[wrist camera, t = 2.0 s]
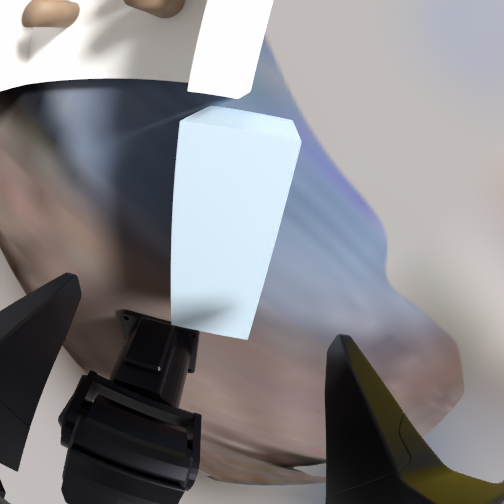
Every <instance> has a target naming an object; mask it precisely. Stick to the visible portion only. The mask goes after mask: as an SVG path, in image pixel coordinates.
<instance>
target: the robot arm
mask: <svg viewBox="0 0 504 504" xmlns="http://www.w3.org/2000/svg"><path fill="white" fill-rule="evenodd" d="M80 299H81V289H80V284H79V280H78V277H77V276H76V275H74V274H71V273H65V274H63V275H61V276H59V277H57V278H56V279H54V280H52V281H50V282H49V283H47V284H45V285H43V286H42V287H40V288H38V289H36V290H35V291H33V292H31V293H29V294H28V295H26V296H24V297H23V298H21V299H19V300H18V301H16V302H14V303H13V304H11V305H9V306H8V307H6V308H5V309H3V310H1V311H0V463H1V464H3V465H5V466H7V467H9V468H11V469H13V470H15V471H18V469H19V465H20V461H21V457H22V453H23V450H24V446H25V443H26V439H27V436H28V433H29V429H30V426H31V422H32V420H33V417H34V413H35V411H36V408H37V405H38V402H39V399H40V397H41V394H42V391H43V389H44V386H45V384H46V381H47V379H48V376H49V374H50V371H51V369H52V367H53V364H54V362H55V360H56V358H57V355H58V353H59V350H60V349H61V346H62V344H63V342H64V340H65V338H66V336H67V333H68V331H69V328H70V325H71V322H72V320H73V317H74V314H75V312H76V309H77V307H78V304H79V301H80ZM121 321H122V326H123V332H124V337H125V343H124V345H123V347H122V350H121V352H120V354H119V357H118V359H117V361H116V364H115V366H114V369H113V371H112V373H111V376H110V378H109V380H108V379H106V378H104V377H102V376H100V375H97V373H96V372H94V371H92V370H90V372H89V374H88V375H82V377H81V379H80V381H79V384H78V386H77V388H76V390H75V392H74V394H73V396H72V397H71V398H70V400H69V402H68V403H67V405H66V406H65V408H64V409H63V411H62V413H61V414H60V416H59V419H58V422H59V424H60V426H61V445H62V446H64V447H66V448H68V451H67V456H66V461H65V466H64V471H63V483H62V488H61V489H62V493H63V496H64V499H65V501H66V503H68V504H178V503H179V501H180V499H181V497H182V495H183V494H184V492H185V491H188V490H189V489H190V488H191V487H192V486H193V484H194V482H195V479H196V476H197V473H198V469H199V463H200V439H201V414H198V413H191V412H188V411H185V410H182V409H179V404H180V400H181V396H182V392H183V388H184V384H185V380H186V375H187V373H194V371H195V366H196V358H197V350H198V342H199V334H200V333H199V331H198V330H193V329H189V328H184V327H180V326H175V325H171V322H167V321H163V320H159V319H156V318H152V317H148V316H145V315H141V314H137V313H134V312H130V311H126V310H125V311H123V312H122V314H121ZM93 400H94V402H93ZM325 416H326V504H504V481H502V482H500V483H497V484H496V483H490V482H486V481H483V480H480V479H477V478H473V477H470V476H467V475H464V474H461V473H458V472H455V471H453V470H451V469H450V468H448V467H447V466H446V465H444V464H443V463H442V462H441V460H440V459H439V458H438V457H437V455H436V454H435V453H434V452H433V451H432V449H431V448H430V447H429V446H428V444H426V442H425V441H424V439H423V438H422V437H421V436H420V434H419V433H418V432H417V430H416V429H415V428H414V426H413V425H412V423H411V422H410V421H409V419H408V418H407V416H406V415H405V413H403V410H402V409H401V407H400V406H399V405H398V403H397V402H396V400H395V399H394V397H393V396H392V394H391V393H390V391H389V390H388V389H387V387H386V386H385V384H384V383H383V381H382V380H381V378H380V377H379V376H378V374H377V373H376V371H375V370H374V369H373V367H372V366H371V364H370V363H369V361H368V360H367V359H366V357H365V356H364V354H363V353H362V352H361V350H360V349H359V347H358V346H357V345H356V343H355V342H354V340H353V339H352V338H351V337H350V336H349V335H343V334H339V335H337V336H336V338H335V339H334V341H333V342H332V344H331V345H330V347H329V348H328V351H327V363H326V380H325ZM5 493H6V492H5V490H4V488H3V485H2V483H1V480H0V504H10V503H9V502H7V501H6V500H5V499H4V496H5Z"/></svg>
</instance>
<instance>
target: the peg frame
mask: <svg viewBox="0 0 504 504" xmlns="http://www.w3.org/2000/svg"><path fill="white" fill-rule="evenodd" d="M272 4H273V0H0V91H3V90H7V89H10V88H14V87H18V86H22V85H26V84H33V83H41V82H50V81H61V80H75V79H105V78H117V79H148V80H163V81H174V82H184V83H189V85H188V90H187V91H189V92H197V93H204V94H211V95H217V96H224V97H229V98H235V99H238V98H240V97H242V96H244V95H245V94H247V93H249V92H250V91H251V87H252V83H253V78H254V74H255V70H256V66H257V62H258V58H259V54H260V50H261V46H262V42H263V38H264V34H265V30H266V26H267V22H268V18H269V15H270V11H271V7H272Z"/></svg>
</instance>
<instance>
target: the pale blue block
mask: <svg viewBox="0 0 504 504" xmlns="http://www.w3.org/2000/svg"><path fill="white" fill-rule="evenodd" d="M300 146H301V140H300V137H299V135H298V132H297V130H296V128H295V125H294V123H293V121H292V120H288V119H283V118H279V117H274V116H269V115H264V114H259V113H254V112H248V111H242V110H236V109H230V108H223V107H216V106H209V107H207V108H204V109H202V110H200V111H198V112H196V113H194V114H192V115H190V116H188V117H186V118H185V119H183V120H181V121H180V125H179V134H178V144H177V154H176V166H175V179H174V194H173V212H172V236H171V325H175V326H180V327H184V328H189V329H193V330H198V331H203V332H208V333H213V334H218V335H223V336H229V337H234V338H240V339H246V340H248V337H249V333H250V330H251V326H252V323H253V319H254V316H255V312H256V309H257V305H258V302H259V298H260V295H261V291H262V288H263V284H264V281H265V277H266V274H267V270H268V266H269V263H270V259H271V256H272V252H273V248H274V245H275V241H276V237H277V234H278V230H279V226H280V223H281V219H282V215H283V211H284V208H285V204H286V200H287V196H288V193H289V189H290V185H291V181H292V177H293V173H294V170H295V166H296V162H297V158H298V154H299V150H300Z"/></svg>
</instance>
